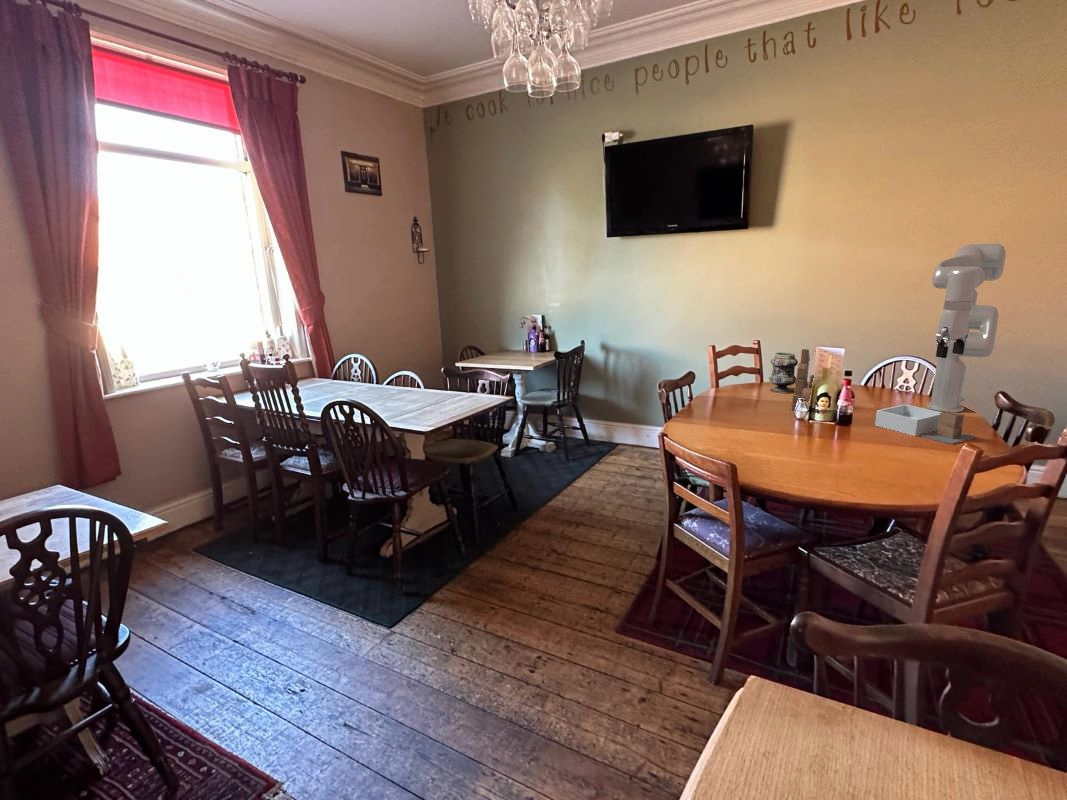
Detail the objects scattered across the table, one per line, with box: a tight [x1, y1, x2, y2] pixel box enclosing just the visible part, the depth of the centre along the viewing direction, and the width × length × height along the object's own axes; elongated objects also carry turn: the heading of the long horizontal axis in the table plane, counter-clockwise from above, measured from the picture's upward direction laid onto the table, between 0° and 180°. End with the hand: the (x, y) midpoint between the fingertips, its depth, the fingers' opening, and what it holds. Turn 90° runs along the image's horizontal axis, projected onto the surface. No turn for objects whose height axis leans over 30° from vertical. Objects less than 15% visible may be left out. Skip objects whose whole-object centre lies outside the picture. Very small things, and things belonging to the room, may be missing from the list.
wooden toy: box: [791, 348, 815, 412], centre depth 228 cm, size 16×7×25 cm, turn 144°
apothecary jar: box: [768, 351, 799, 394], centre depth 257 cm, size 12×12×18 cm
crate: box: [874, 403, 943, 437], centre depth 201 cm, size 17×15×6 cm
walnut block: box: [937, 411, 965, 439], centre depth 188 cm, size 5×5×8 cm
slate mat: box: [920, 431, 977, 445], centre depth 189 cm, size 14×10×1 cm
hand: (949, 355), depth 188 cm, fingers open, 9 cm apart
